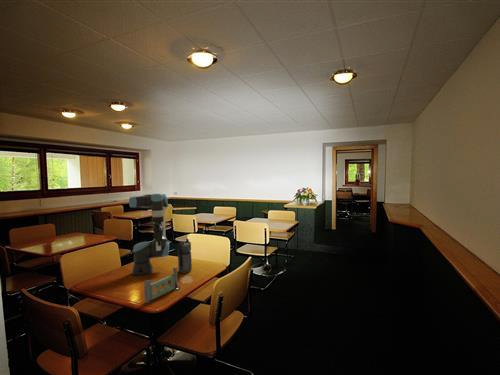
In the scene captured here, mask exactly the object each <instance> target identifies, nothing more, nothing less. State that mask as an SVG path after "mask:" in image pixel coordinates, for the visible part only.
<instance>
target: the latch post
mask: <svg viewBox="0 0 500 375" xmlns="http://www.w3.org/2000/svg"><path fill="white" fill-rule="evenodd" d="M142 283H143V284H144V303H145V304H149V303H151V302H152V300H151V287H150V284H151V283H152V280H151V279H146V280H143V282H142Z"/></svg>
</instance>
